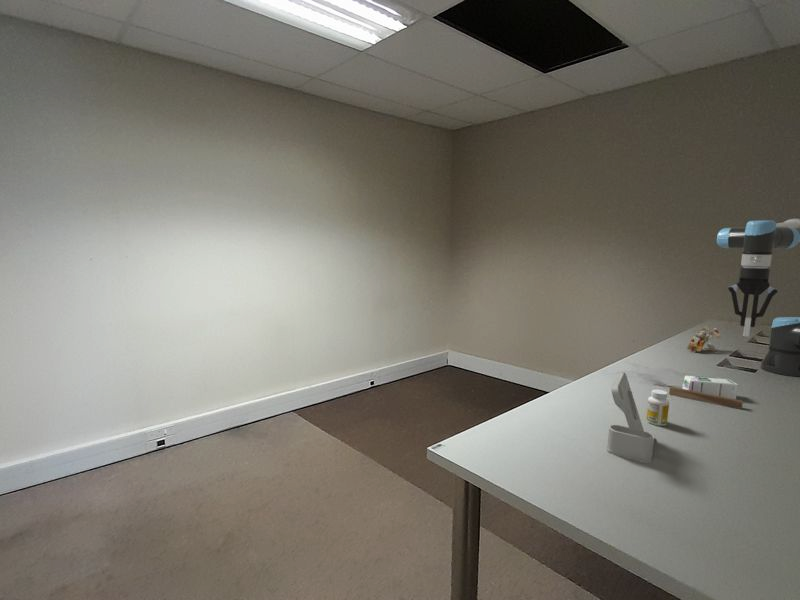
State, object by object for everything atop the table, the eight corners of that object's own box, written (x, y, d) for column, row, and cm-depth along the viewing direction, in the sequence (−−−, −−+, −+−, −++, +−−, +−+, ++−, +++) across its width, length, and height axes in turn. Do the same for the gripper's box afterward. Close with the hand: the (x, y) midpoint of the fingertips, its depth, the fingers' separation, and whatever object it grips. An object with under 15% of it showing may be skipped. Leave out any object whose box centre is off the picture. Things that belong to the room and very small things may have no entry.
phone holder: (650, 465, 100) (657, 395, 97) (604, 452, 106) (610, 386, 103) (654, 437, 114) (661, 375, 112) (614, 427, 120) (619, 368, 117)
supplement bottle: (664, 419, 125) (667, 389, 124) (669, 427, 120) (672, 396, 119) (644, 417, 127) (647, 387, 125) (648, 424, 122) (651, 393, 120)
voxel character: (683, 353, 205) (697, 337, 211) (705, 363, 198) (719, 345, 204) (689, 337, 198) (703, 321, 204) (712, 347, 191) (726, 329, 197)
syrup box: (738, 384, 140) (690, 379, 144) (736, 400, 141) (688, 395, 145) (729, 378, 146) (683, 374, 149) (727, 394, 146) (681, 389, 150)
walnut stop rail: (669, 392, 147) (670, 386, 147) (741, 407, 135) (742, 400, 134) (669, 394, 146) (669, 388, 145) (741, 409, 133) (742, 402, 133)
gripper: (730, 266, 138) (721, 334, 142) (782, 268, 130) (772, 340, 133) (730, 265, 144) (722, 331, 147) (780, 267, 136) (770, 336, 139)
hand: (745, 335), depth 140 cm, fingers closed
